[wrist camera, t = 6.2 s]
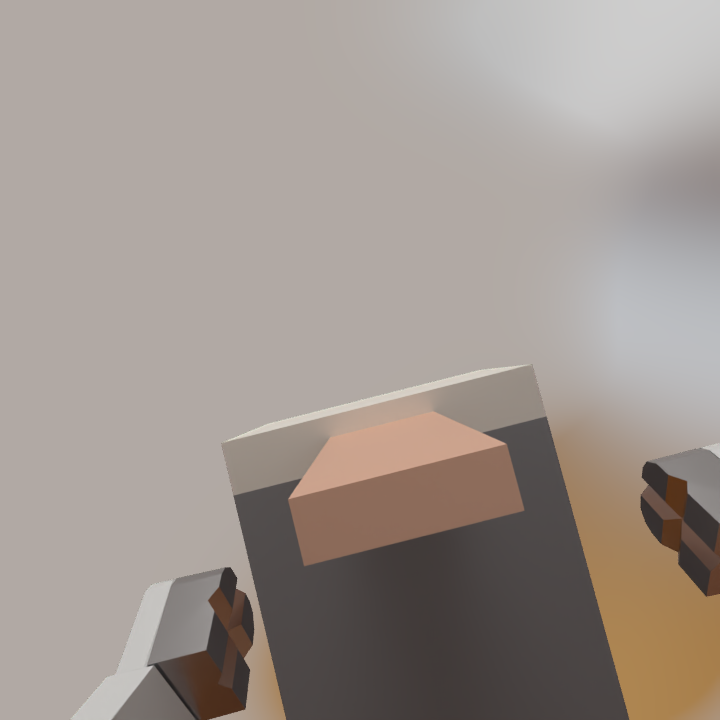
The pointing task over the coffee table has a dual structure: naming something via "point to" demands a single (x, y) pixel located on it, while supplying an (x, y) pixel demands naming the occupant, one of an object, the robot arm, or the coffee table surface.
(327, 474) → the lid
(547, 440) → the carton
